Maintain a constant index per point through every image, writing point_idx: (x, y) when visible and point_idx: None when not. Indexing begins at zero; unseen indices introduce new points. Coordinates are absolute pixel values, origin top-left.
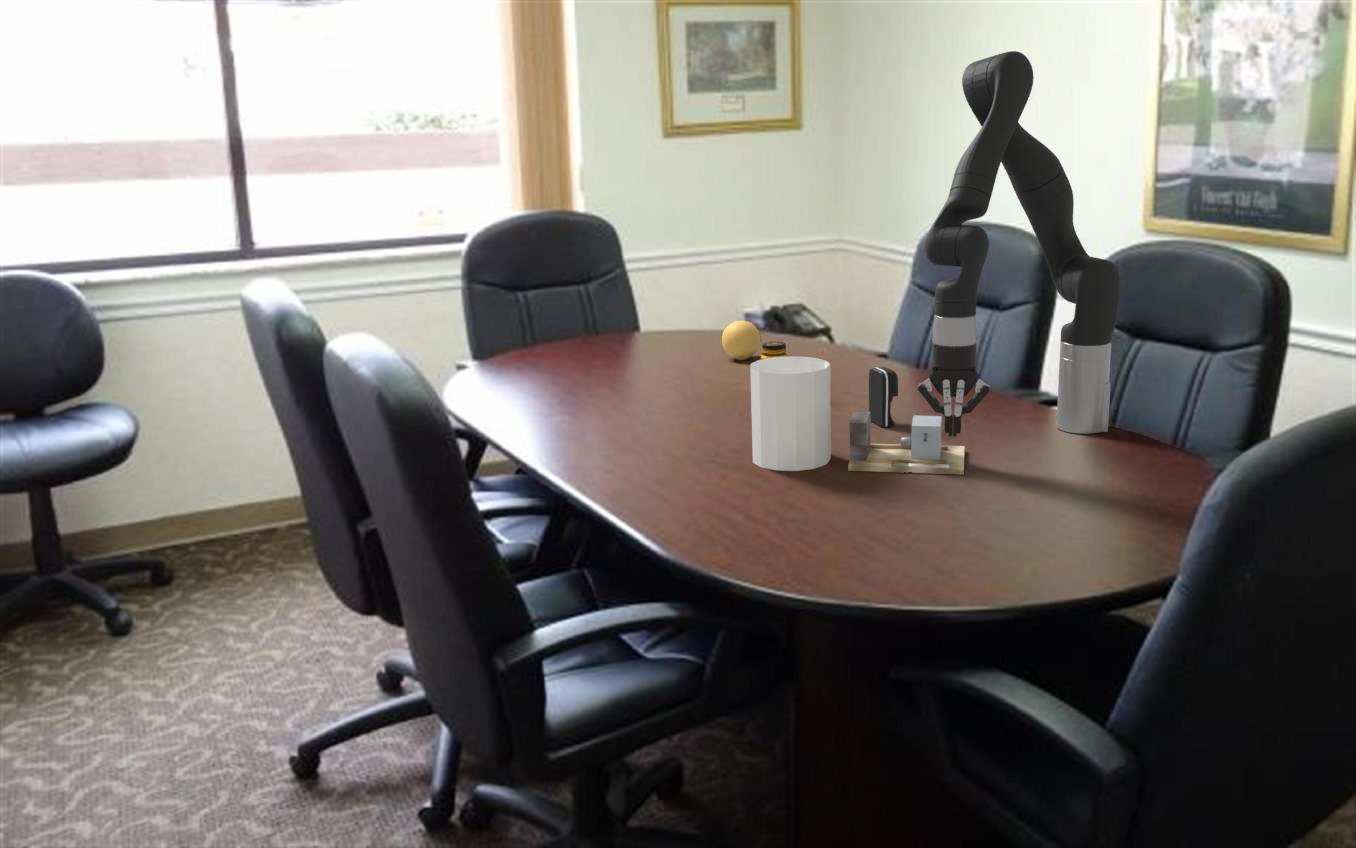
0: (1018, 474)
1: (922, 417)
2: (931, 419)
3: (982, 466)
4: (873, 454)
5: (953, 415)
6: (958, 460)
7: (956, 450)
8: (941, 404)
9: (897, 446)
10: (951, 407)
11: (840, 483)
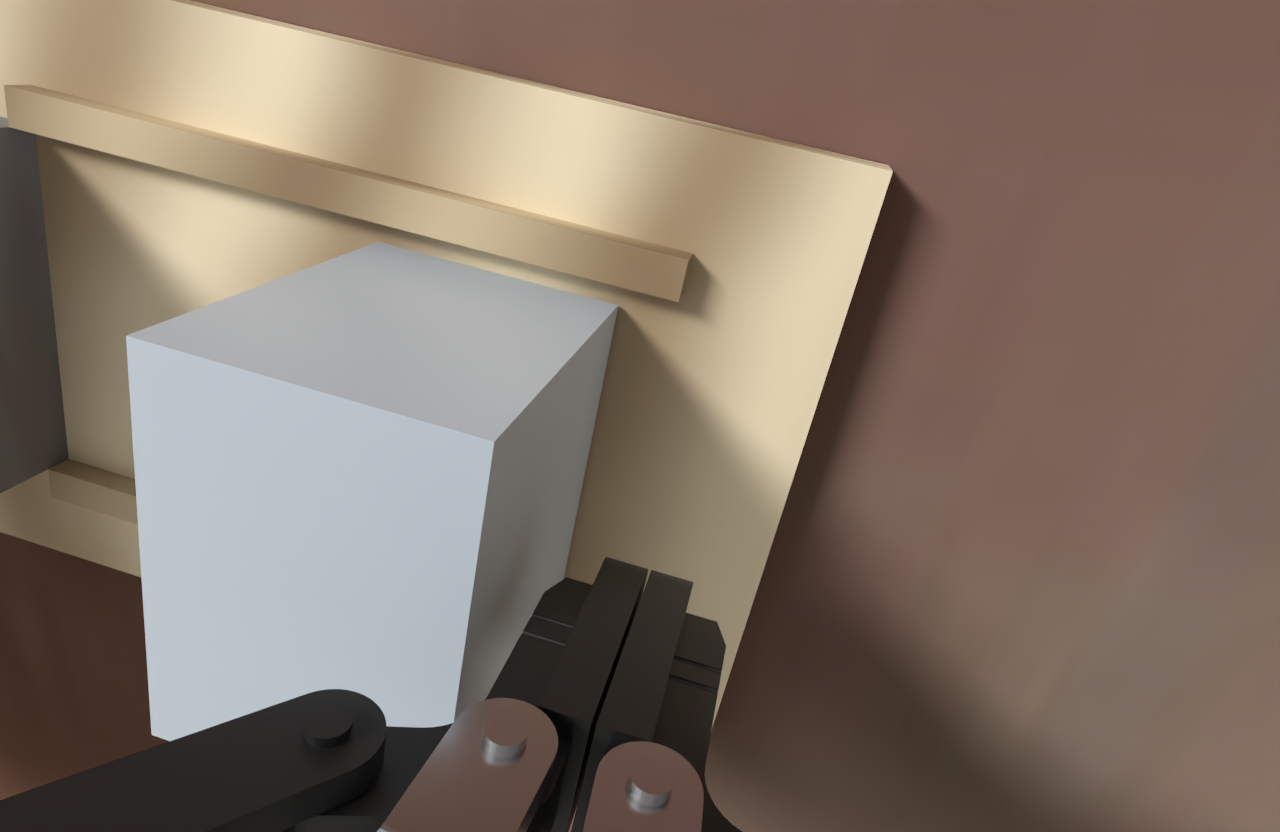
0: (1101, 811)
1: (243, 459)
2: (352, 568)
3: (902, 602)
4: (88, 317)
5: (583, 791)
6: (711, 583)
7: (766, 315)
8: (351, 823)
9: (236, 183)
10: (530, 821)
11: (24, 693)
